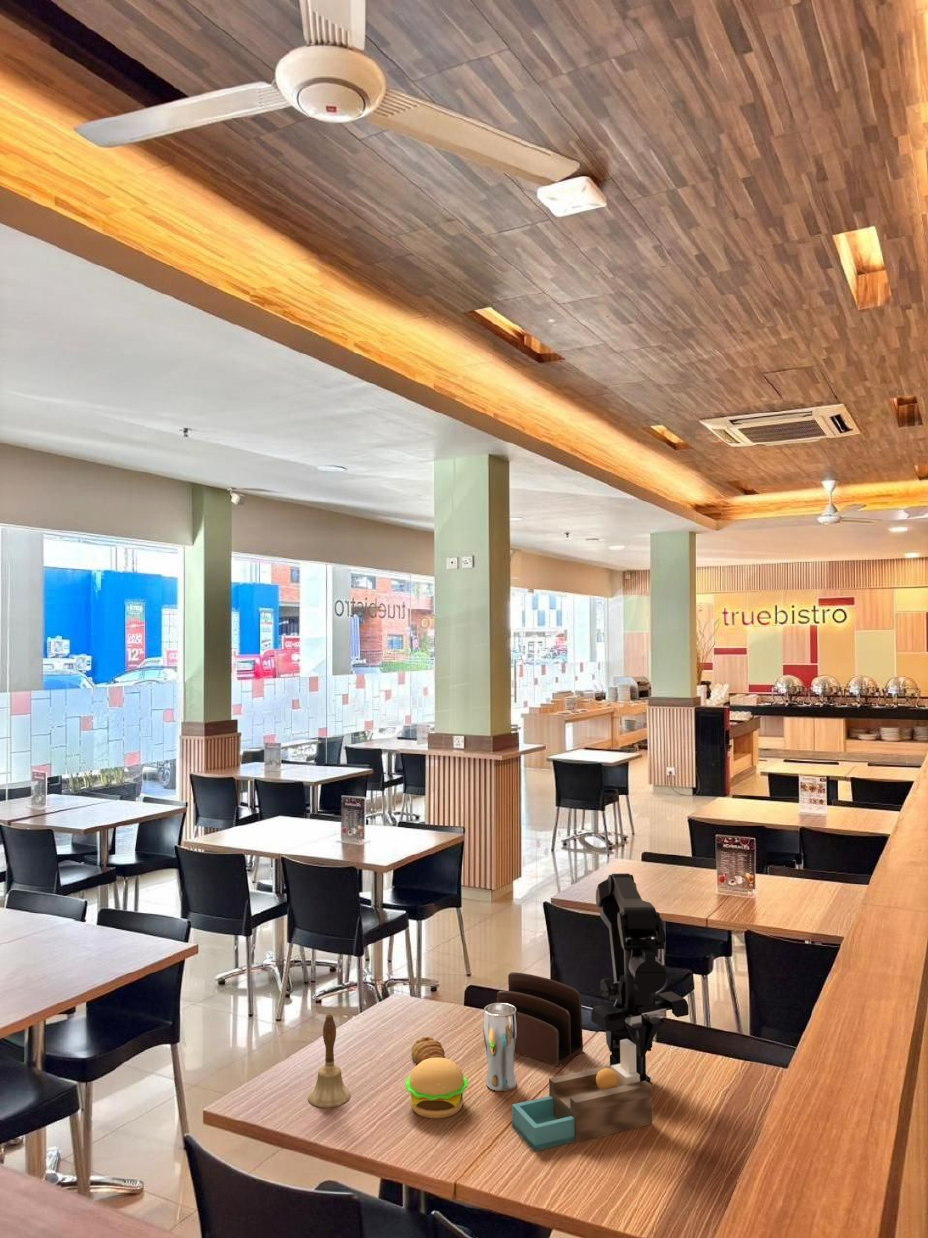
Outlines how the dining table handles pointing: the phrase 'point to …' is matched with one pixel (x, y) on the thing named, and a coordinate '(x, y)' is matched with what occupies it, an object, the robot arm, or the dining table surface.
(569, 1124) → the teal open box
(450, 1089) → the hamburger
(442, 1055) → the pastry
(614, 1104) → the launcher deck
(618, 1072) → the white offset block
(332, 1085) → the hand bell
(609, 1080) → the ball
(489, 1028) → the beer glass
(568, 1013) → the letter holder
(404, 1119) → the dining table surface
